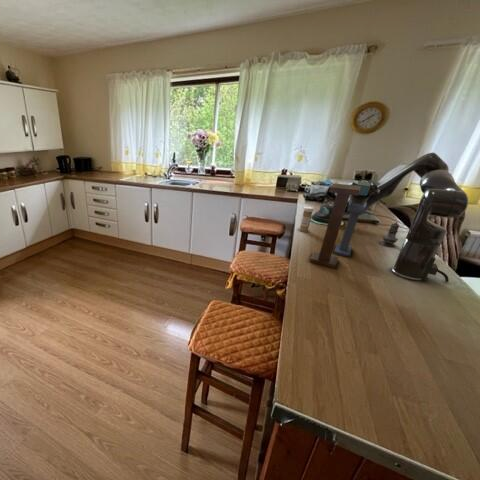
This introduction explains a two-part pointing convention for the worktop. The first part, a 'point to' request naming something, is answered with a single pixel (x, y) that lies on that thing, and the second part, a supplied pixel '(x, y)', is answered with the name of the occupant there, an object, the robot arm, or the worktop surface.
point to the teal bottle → (364, 187)
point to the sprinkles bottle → (306, 219)
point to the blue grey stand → (350, 228)
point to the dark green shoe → (323, 215)
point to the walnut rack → (334, 224)
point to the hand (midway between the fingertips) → (364, 182)
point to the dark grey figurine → (391, 236)
